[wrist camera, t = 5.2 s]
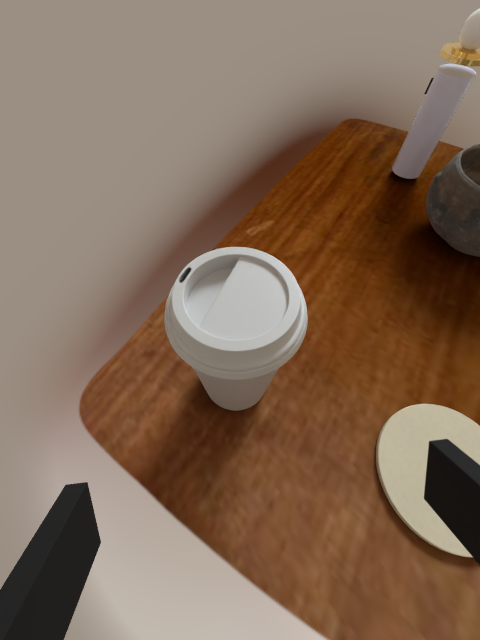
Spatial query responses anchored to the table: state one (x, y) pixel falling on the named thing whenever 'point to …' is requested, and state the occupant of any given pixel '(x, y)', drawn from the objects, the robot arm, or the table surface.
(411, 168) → the perfume bottle
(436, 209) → the bowl
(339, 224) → the table surface
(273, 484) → the table surface
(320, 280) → the table surface
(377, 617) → the table surface
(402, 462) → the cream mat
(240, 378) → the coffee cup
